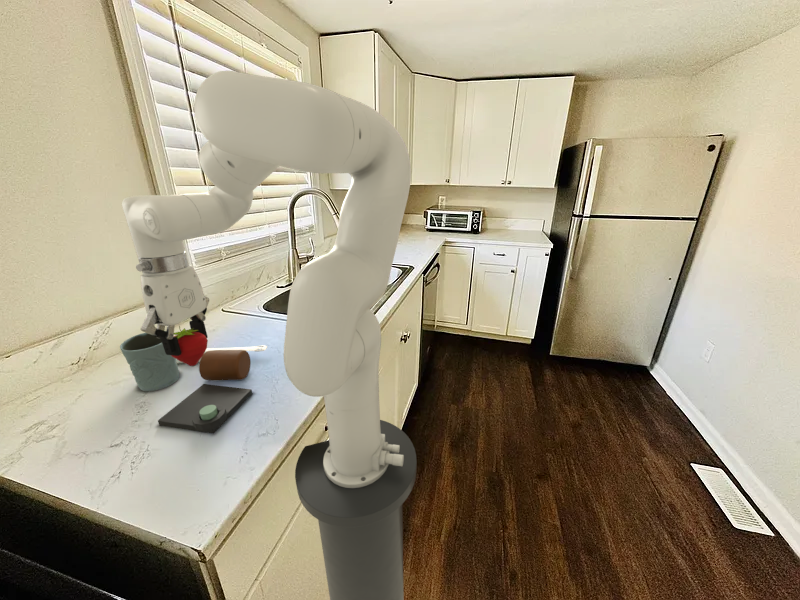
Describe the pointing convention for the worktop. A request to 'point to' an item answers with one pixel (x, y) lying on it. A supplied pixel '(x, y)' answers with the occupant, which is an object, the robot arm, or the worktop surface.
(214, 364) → the mug
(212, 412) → the button
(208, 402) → the scale
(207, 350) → the spatula
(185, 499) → the worktop surface
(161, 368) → the green plant pot
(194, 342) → the strawberry
